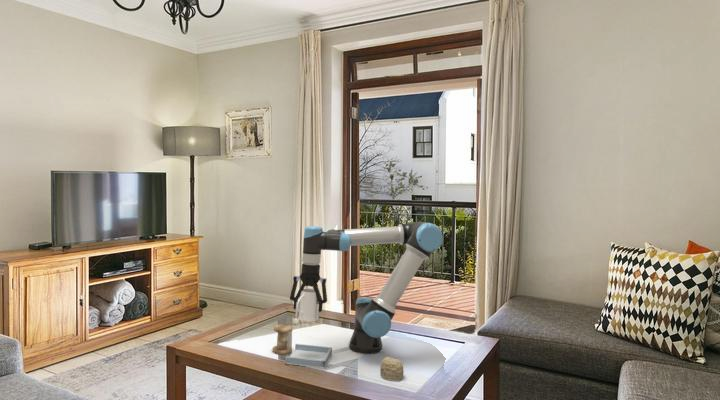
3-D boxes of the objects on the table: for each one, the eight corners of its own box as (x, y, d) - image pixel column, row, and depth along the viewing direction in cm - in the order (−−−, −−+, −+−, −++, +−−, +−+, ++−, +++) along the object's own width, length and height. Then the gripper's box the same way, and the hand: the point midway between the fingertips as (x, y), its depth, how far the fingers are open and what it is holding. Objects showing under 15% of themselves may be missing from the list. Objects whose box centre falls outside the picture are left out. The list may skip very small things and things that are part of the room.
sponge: (385, 381, 179) (372, 360, 178) (405, 368, 179) (393, 347, 179) (388, 391, 169) (375, 369, 169) (410, 377, 170) (397, 355, 170)
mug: (302, 324, 179) (304, 294, 179) (287, 319, 184) (289, 290, 184) (322, 319, 188) (324, 291, 188) (307, 315, 193) (309, 287, 193)
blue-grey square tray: (331, 354, 193) (332, 347, 193) (324, 369, 176) (324, 361, 176) (295, 350, 195) (296, 343, 195) (284, 364, 178) (285, 357, 178)
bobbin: (293, 349, 197) (294, 325, 197) (288, 355, 189) (289, 330, 189) (275, 347, 198) (277, 323, 198) (269, 353, 190) (271, 328, 190)
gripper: (337, 264, 188) (333, 318, 189) (289, 260, 191) (285, 313, 191) (334, 267, 181) (330, 323, 181) (284, 262, 183) (280, 318, 183)
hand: (307, 318), depth 186 cm, fingers closed on mug, 8 cm apart
